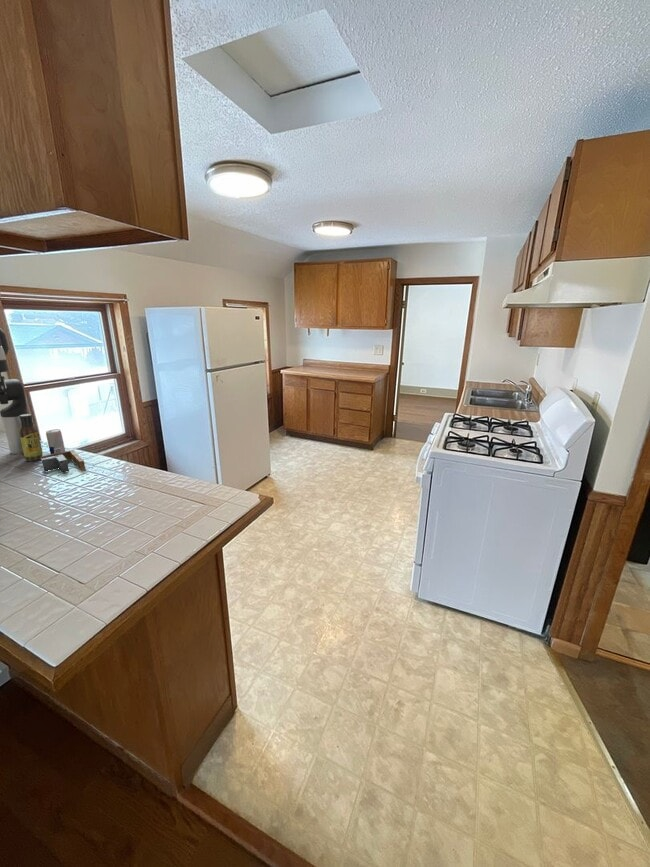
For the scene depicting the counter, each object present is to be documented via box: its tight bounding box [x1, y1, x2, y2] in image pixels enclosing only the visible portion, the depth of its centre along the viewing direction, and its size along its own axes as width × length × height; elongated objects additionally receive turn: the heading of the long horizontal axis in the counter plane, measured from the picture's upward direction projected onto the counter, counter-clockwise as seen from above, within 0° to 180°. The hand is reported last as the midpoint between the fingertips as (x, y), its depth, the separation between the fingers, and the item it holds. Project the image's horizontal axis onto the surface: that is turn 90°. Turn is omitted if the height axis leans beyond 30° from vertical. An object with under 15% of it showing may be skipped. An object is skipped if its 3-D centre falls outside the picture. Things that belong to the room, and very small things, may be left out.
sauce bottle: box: [19, 413, 44, 462], centre depth 148 cm, size 6×6×20 cm
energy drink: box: [45, 429, 66, 454], centre depth 152 cm, size 5×5×12 cm
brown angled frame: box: [42, 449, 86, 472], centre depth 142 cm, size 18×11×4 cm, turn 46°
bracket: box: [40, 455, 70, 473], centre depth 138 cm, size 7×8×5 cm
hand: (3, 402), depth 130 cm, fingers open, 8 cm apart
